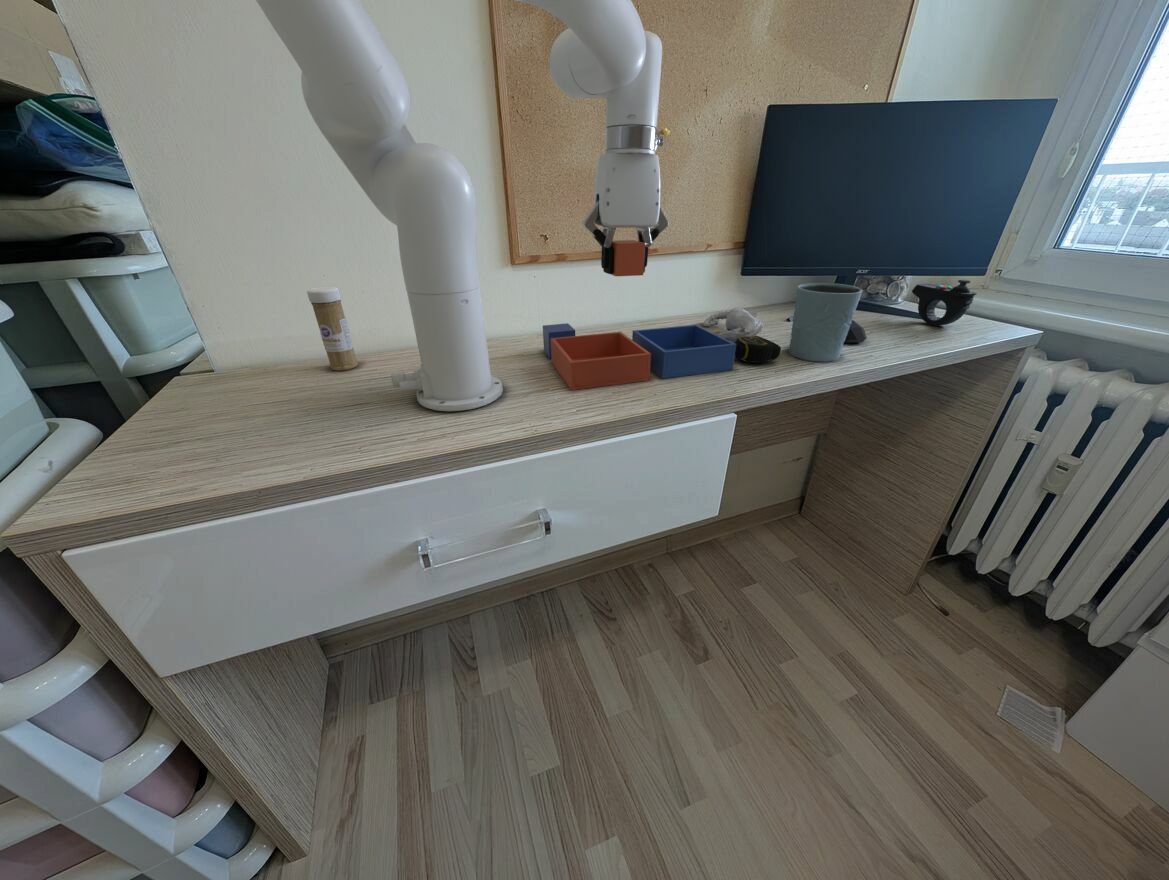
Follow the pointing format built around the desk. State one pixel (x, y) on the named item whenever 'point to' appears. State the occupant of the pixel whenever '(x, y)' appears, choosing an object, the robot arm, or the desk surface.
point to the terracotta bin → (599, 360)
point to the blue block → (555, 335)
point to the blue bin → (685, 350)
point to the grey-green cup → (822, 320)
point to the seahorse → (736, 323)
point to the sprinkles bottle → (333, 327)
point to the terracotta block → (628, 258)
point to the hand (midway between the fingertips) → (623, 271)
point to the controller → (952, 297)
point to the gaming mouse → (855, 333)
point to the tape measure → (756, 349)
